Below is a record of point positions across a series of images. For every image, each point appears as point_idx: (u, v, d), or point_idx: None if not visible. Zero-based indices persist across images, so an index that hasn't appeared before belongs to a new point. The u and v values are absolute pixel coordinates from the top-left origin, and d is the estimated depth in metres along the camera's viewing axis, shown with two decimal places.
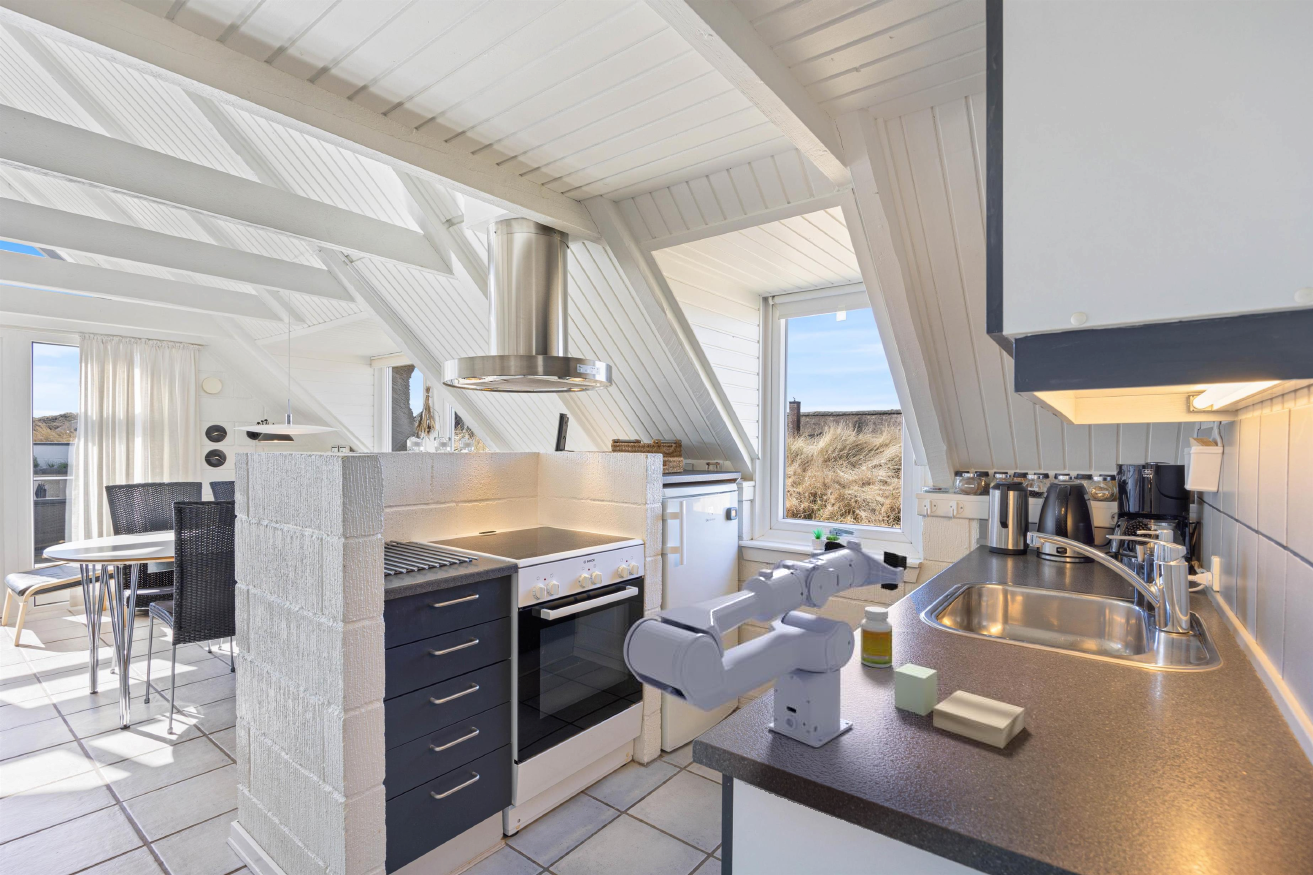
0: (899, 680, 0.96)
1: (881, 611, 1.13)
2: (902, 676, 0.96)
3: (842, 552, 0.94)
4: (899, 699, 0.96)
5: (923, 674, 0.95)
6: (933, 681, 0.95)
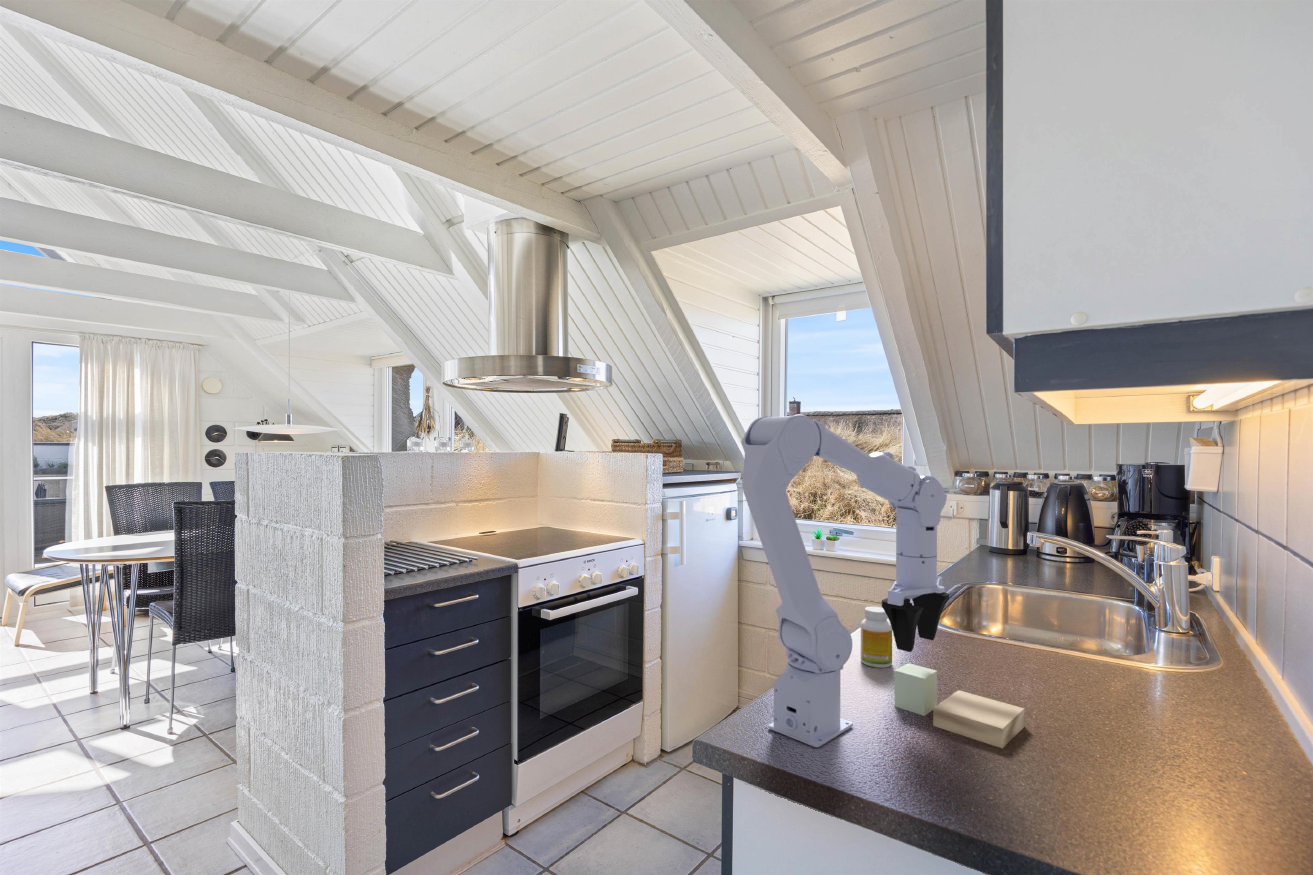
0: (899, 680, 0.96)
1: (881, 611, 1.13)
2: (902, 677, 0.96)
3: (934, 564, 0.94)
4: (899, 699, 0.96)
5: (923, 675, 0.95)
6: (933, 681, 0.95)
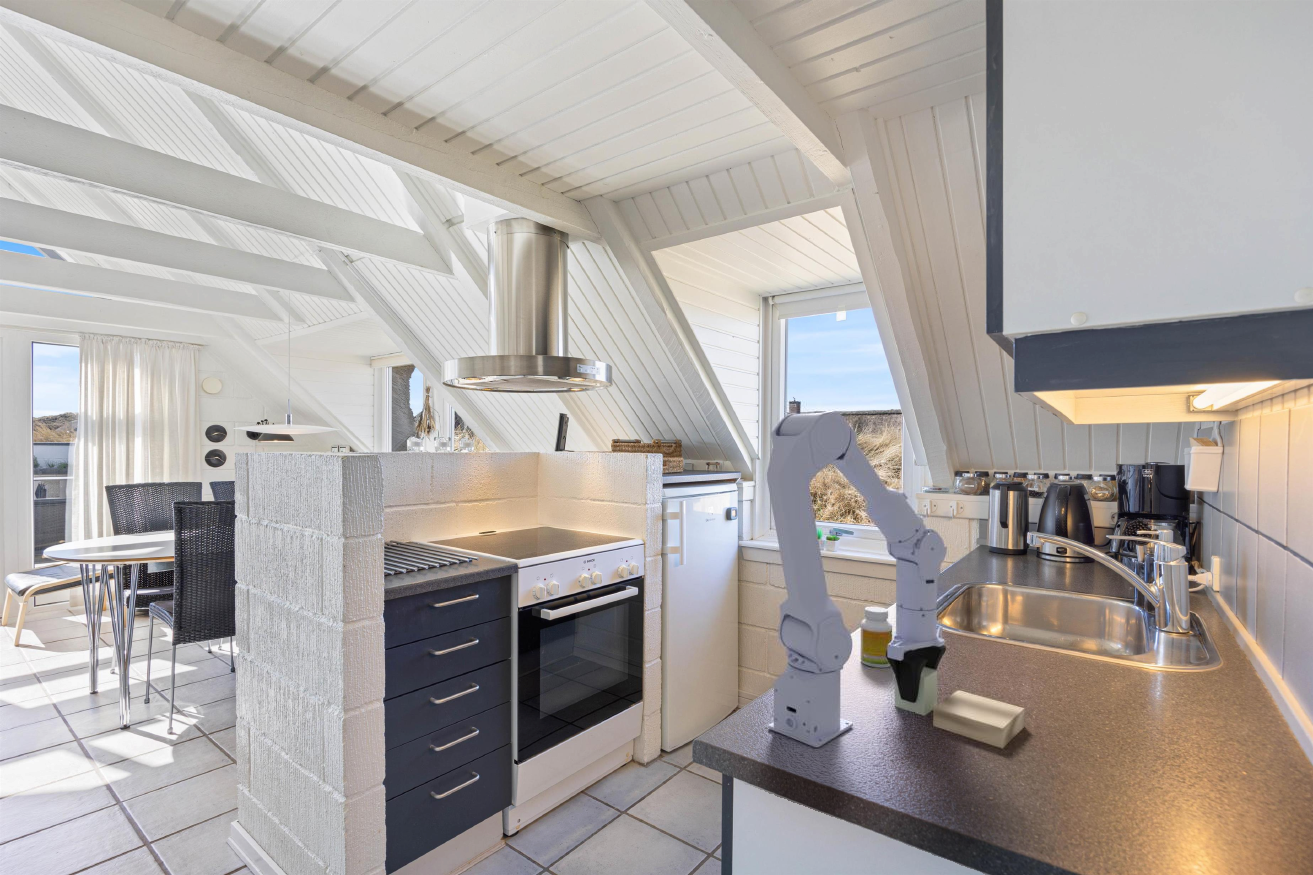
0: None
1: (881, 611, 1.13)
2: None
3: (934, 616, 0.94)
4: (899, 699, 0.96)
5: (923, 674, 0.95)
6: (933, 681, 0.95)
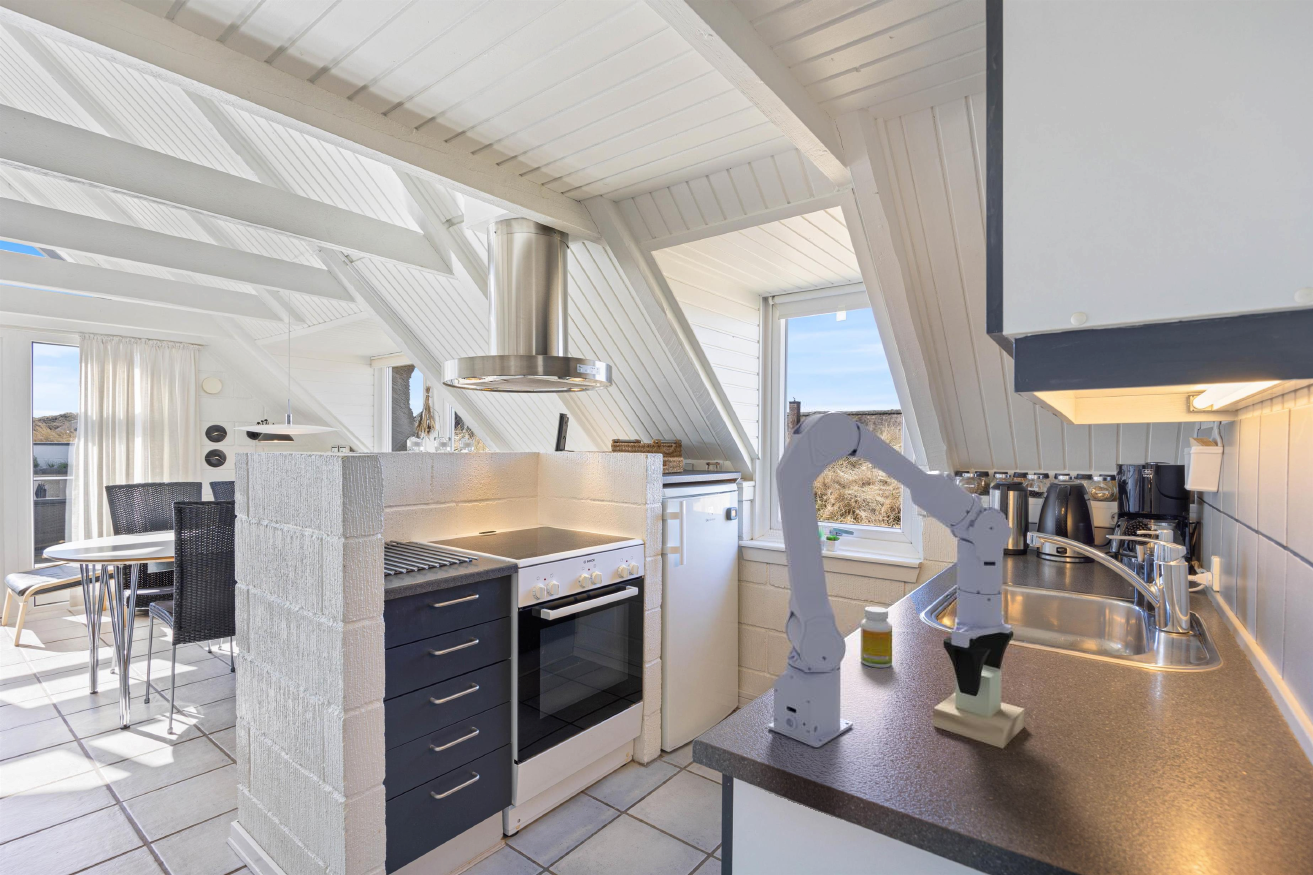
0: None
1: (881, 611, 1.13)
2: None
3: (1000, 601, 0.88)
4: (960, 699, 0.90)
5: (988, 673, 0.88)
6: (998, 681, 0.89)
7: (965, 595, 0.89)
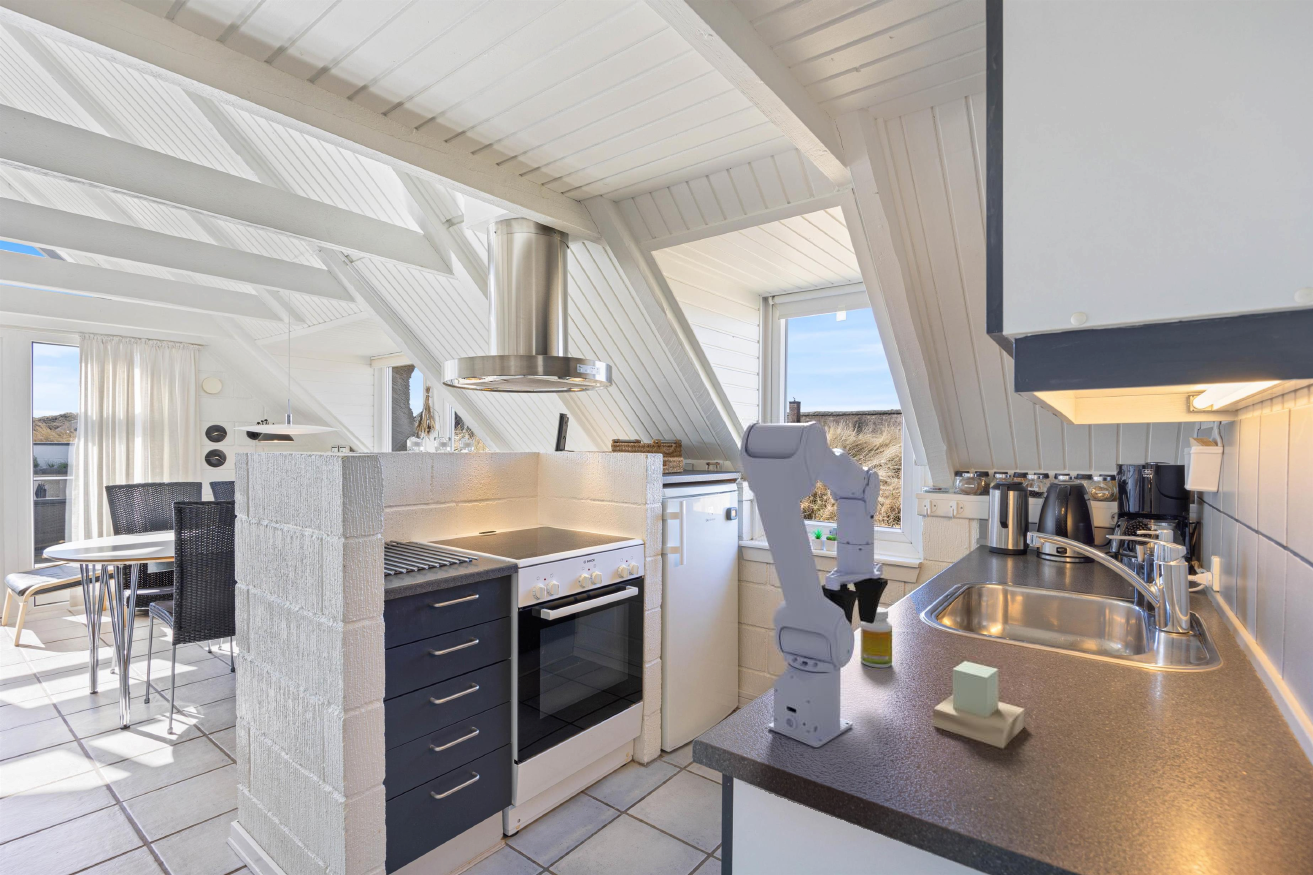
0: (958, 679, 0.90)
1: (881, 611, 1.13)
2: (961, 676, 0.89)
3: (870, 551, 0.99)
4: (958, 700, 0.90)
5: (985, 673, 0.88)
6: (994, 680, 0.89)
7: (841, 546, 1.00)
